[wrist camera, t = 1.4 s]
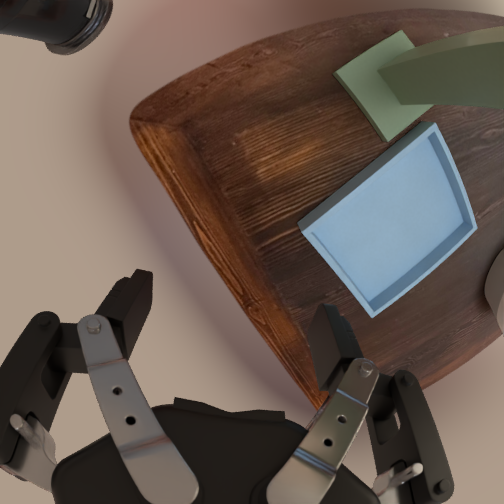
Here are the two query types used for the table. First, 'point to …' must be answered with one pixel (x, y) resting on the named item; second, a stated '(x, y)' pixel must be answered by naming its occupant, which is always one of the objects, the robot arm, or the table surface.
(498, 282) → the bowl
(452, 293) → the table surface
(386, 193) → the tray
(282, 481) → the robot arm
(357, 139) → the table surface
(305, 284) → the table surface
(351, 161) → the table surface
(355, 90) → the stand
